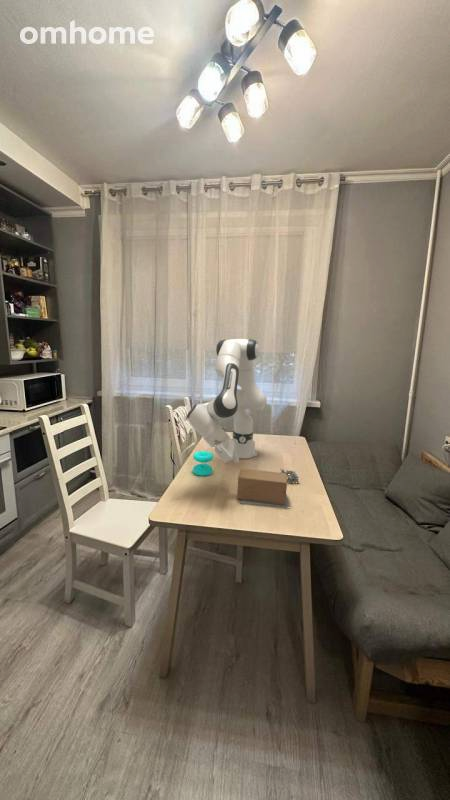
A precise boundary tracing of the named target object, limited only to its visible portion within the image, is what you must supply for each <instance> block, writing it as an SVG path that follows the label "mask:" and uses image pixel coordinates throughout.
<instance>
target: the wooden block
mask: <svg viewBox="0 0 450 800" xmlns="http://www.w3.org/2000/svg"><path fill="white" fill-rule="evenodd" d="M287 477H288V476H286V473H280V472H278V471H270V470H269V471H268V470H260V469H251V468H240V470H239V473H238V478H237V492H236V493H237V494H236V498H237V500H241V499H242V500H250V501H258V502H265V503H273V504H281V505H285V499H286V494H287V486H288V484H287Z"/></svg>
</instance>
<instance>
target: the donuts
mask: <svg viewBox="0 0 450 800" xmlns="http://www.w3.org/2000/svg"><path fill="white" fill-rule="evenodd" d="M192 459H194V461H196V462H198V464H196V465H193V468H192V472H193V473H194V475H196V476H201V477H203V476H209V475H211V474H212V473H213V471H214V470H213V469H214V468H213V467H212V466H211V465H210V464H208V463H210V462H212V461H213V459H214V455H213V453H212V452H210V451H205V450H200V451H196V452H194V453H193V457H192Z"/></svg>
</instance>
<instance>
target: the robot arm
mask: <svg viewBox="0 0 450 800" xmlns="http://www.w3.org/2000/svg"><path fill="white" fill-rule="evenodd" d="M259 348H260V347H259V344H258V342H257V341H256V340H255V339H251V338H250V339H249V338H248V339H245V338H235V339H221V340H219V341H218V342H217V344H216V351H215V352H216V355H217V356H216V357H217V358H216V362H215V372H216V374H217V375H218V376H220V377H221V378H223V379H222V380H223V381H222V385H221V386H222V387H221V390H220V392H219V394H218V395H216V397H215V398H214V399H212V400H210V401H208V402H204V403H201V404H199V403H197V404H195V405H194V406H192V408H191V409H189V411H188V413H187V415H186V418H187V421H188V423H189V424H190V425H191V426H192V427H193V430H195V432H196V433H198V434H200V435H201V437H202V438H203V440H204V441H205V443H207V445H208V446H209V447H210V448H214V451H215V453H216V455H218V457H219V458H220V460H222V462H223V463H225V464H228V463H229V462H230V461H231V460H232V461H233V462H234V463H235V464H237V463H239V462H240V459H251V458H254V457H257V456H258V453H257V451H256V449H255V447H256V446H255V445H256V441H254V439H253V438H254V432H253V431H254V430H253V428H254V419H253V417H252V416H251V415H250V414H248V412H247V410H250V411H262V410H265V408H266V406H267V404H268V399H267V396H266V394H265V393H264V392H263V391H261V389H260V388H259V386H258V385H257V383H256V381H255V375H254V373H255V372H254V362H253V361H254V360H256V359H257V357H258V356H259V351H260V349H259ZM238 387H240V388H238ZM229 417H233V430H232V438H231V436H230V435H229V433H228V432H226V431H227V430H226V429H225V428H224V427H222V426H221V425H220V424H219V422H221V421H223V420H226V419H227V418H229Z"/></svg>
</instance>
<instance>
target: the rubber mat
mask: <svg viewBox="0 0 450 800" xmlns="http://www.w3.org/2000/svg"><path fill="white" fill-rule="evenodd" d="M240 504H241V505H247V506H248V505H249V506H261V507H271V508H281V507H290V508H291V506H290V502H289V499H288V494H287V493H286V499H285V505H281V504H273V503H265V502H258V501H250V500H242V499H240Z"/></svg>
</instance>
